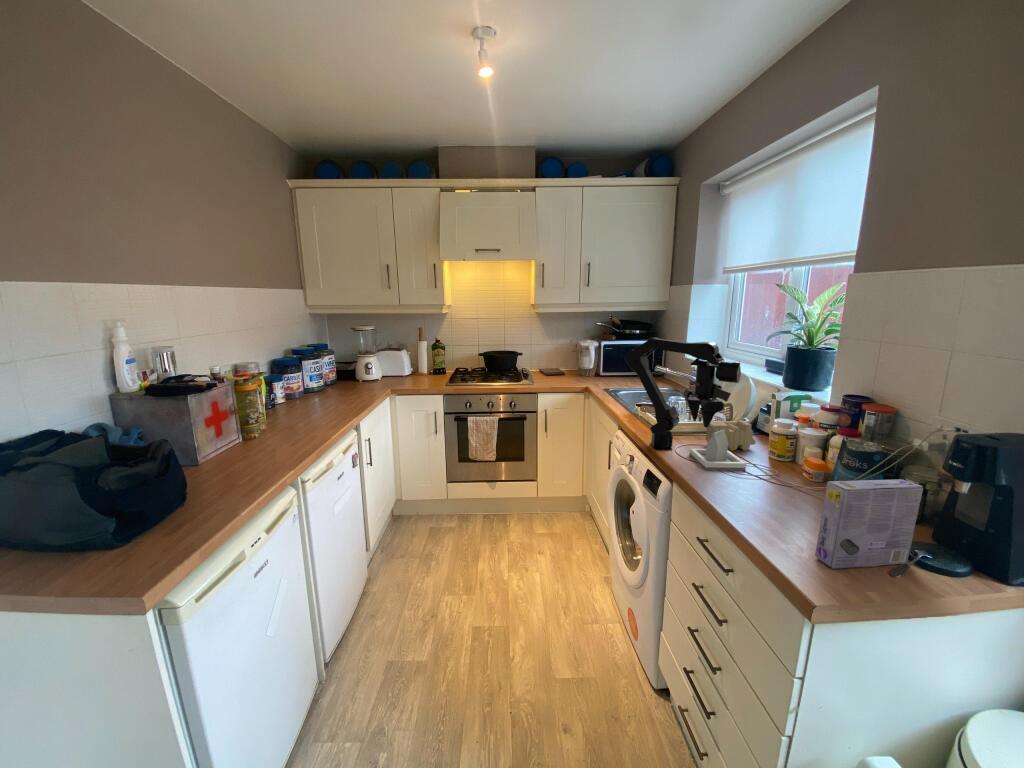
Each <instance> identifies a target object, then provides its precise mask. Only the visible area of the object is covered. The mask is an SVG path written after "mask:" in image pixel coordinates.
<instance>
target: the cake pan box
mask: <svg viewBox="0 0 1024 768" xmlns="http://www.w3.org/2000/svg"><path fill="white" fill-rule="evenodd" d="M923 487H924V486H923V485H920V484H918V483H914V482H911V481H909V480H905V479H902V478H901V479H870V480H869V479H863V480H861V479H860V480H837V481H836V480H833V481H832V480H831V481H830V480H829V481H827V482H826V488H825V493H824V499H823V500H824V501H823V506H822V507H823V508H822V510H821V511H822V513H821V519H820V523H819V530H818V535H817V536H818V537H817V543H816V548H815V553H814V556H815V557H816V558H817V559H818V560H819V561H821V562H823V564H825V565H826V566H827V567H829V568H830V569H831V570H837V569H846V568H847V569H849V568H874V567H876V568H877V567H880V566H889V565H890V566H891V565H907V564H908V559H909V556H910V552H911V551H910V550H911V547H912V543H913V539H914V534H915V533H914V532H915V527H916V522H917V517H918V514H919V510H920V505H921V500H922V496H923V492H924V491H923V490H924V488H923ZM906 563H907V564H906Z"/></svg>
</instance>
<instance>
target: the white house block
mask: <svg viewBox="0 0 1024 768" xmlns="http://www.w3.org/2000/svg"><path fill="white" fill-rule="evenodd" d="M705 449H706V457H705V459H706V460H707V461H709V462H721V461H723V460H726V457H727V450H729V449H728V441H727V438H726V435H725V430H721V431H718V432H715V433H713V435H712V437H711V438H710V440H709V441H708V443H707V442H706V448H705Z"/></svg>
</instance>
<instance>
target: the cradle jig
mask: <svg viewBox="0 0 1024 768" xmlns="http://www.w3.org/2000/svg"><path fill="white" fill-rule="evenodd" d="M688 455H689V456H690V457H691V458H692V459H693V461H695V462H696V463H697V465H699V466H701V468H702V469H704V471H730V470H731V471H732V470H733V471H734V472H735V471H737V472H738V471H744V472H745V471H746V468H747V463H746V462H745V461H744V460H742V459H741V458H739V457H738V456H737V455H736V454H734V453H732V452H731V450H729V449H727V457H726V460H723V461H721V462H709V461H707V460H706V459H705V457H706V448H690V449H689V454H688Z"/></svg>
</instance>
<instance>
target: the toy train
mask: <svg viewBox="0 0 1024 768" xmlns="http://www.w3.org/2000/svg"><path fill="white" fill-rule="evenodd" d="M752 427H753V426H752V424H751V423H749V422H746V421H745V420H741V419H740V420H739V419H738V420H737V421H736V424H735V425H734V424H732V423H731V422H730V423H729V422H728V423H727V424H726V423H725V422H723V421H720V420H713V421H712V420H711V422H710V424H709V426H708V428H706V432H705V433H706V434H705V441H707V442H706V444H707V443H708V441H709V440H710V438H711V437H712V435H713V433H715V432H718V431H721V430H725V435H726V438H727V441H728V449H727V450H729V451H736V450H737V449H738V448H740V449H741V450H742V451H748V450H749V449H751V446H754V445H756V443H757V442H756V440H755V438H754V437H753V436H754V431H753V430H752Z"/></svg>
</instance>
